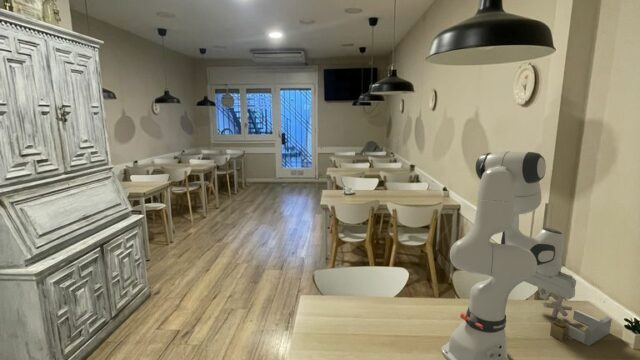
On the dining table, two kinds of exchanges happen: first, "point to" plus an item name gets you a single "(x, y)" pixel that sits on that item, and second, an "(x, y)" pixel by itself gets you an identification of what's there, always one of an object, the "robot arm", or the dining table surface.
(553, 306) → the beige crossed rod piece
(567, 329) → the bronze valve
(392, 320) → the dining table surface
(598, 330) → the socket cradle
